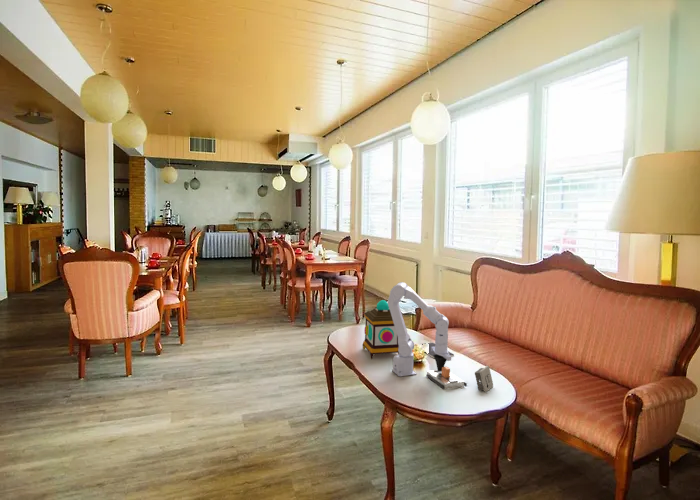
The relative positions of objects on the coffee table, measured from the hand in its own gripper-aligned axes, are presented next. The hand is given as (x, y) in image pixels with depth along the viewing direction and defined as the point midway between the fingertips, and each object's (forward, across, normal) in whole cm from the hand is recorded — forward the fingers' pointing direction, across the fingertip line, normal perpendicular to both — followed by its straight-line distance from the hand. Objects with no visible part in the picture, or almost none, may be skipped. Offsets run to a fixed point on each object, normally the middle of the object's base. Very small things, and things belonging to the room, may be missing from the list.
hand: (440, 370), depth 195 cm
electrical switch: (+4, -16, -13) cm, 21 cm away
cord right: (+4, -4, -7) cm, 9 cm away
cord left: (+4, -4, +5) cm, 8 cm away
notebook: (+4, +34, -17) cm, 38 cm away
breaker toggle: (+1, -5, 0) cm, 5 cm away
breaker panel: (+4, -4, 0) cm, 6 cm away
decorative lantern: (+4, +39, +13) cm, 41 cm away
